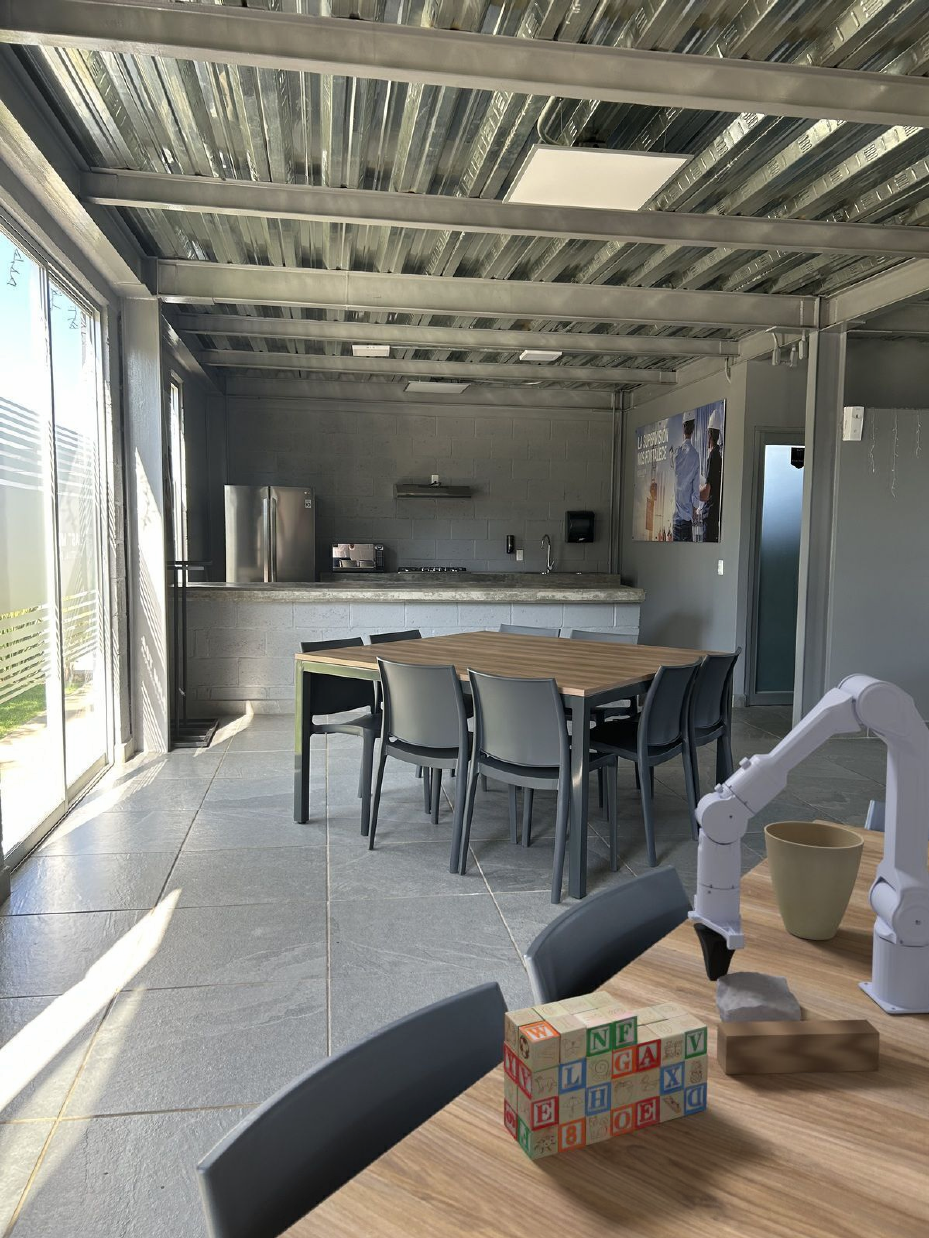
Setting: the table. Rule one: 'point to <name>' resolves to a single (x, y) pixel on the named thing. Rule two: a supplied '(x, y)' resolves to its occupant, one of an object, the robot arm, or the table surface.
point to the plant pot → (812, 874)
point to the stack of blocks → (599, 1070)
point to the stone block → (755, 998)
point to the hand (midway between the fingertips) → (716, 978)
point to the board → (797, 1046)
